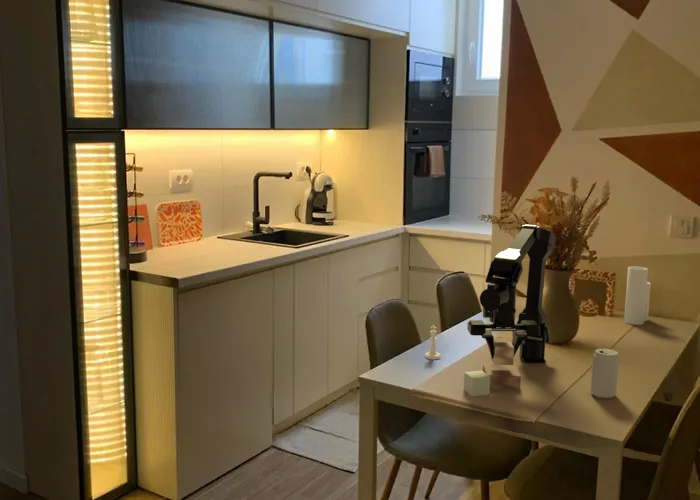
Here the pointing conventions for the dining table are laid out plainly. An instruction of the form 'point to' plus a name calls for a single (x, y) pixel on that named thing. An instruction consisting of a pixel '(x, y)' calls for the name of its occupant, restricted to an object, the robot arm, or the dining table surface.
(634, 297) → the vase
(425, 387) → the dining table surface
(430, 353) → the chess piece
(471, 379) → the sage block
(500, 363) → the oak cube
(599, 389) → the beverage can
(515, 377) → the pedestal
